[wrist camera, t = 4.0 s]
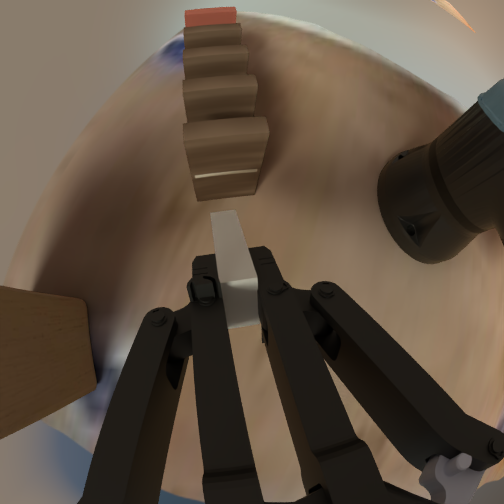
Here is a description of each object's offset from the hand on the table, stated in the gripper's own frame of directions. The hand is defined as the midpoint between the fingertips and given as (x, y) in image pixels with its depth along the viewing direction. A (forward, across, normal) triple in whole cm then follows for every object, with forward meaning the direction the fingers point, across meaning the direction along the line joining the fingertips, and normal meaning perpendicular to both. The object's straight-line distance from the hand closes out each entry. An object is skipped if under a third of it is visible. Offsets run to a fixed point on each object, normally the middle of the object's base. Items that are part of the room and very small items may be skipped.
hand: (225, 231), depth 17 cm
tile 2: (+16, +1, +2) cm, 16 cm away
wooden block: (+3, -20, -12) cm, 24 cm away
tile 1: (+13, +1, -2) cm, 13 cm away
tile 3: (+20, +1, +5) cm, 20 cm away
